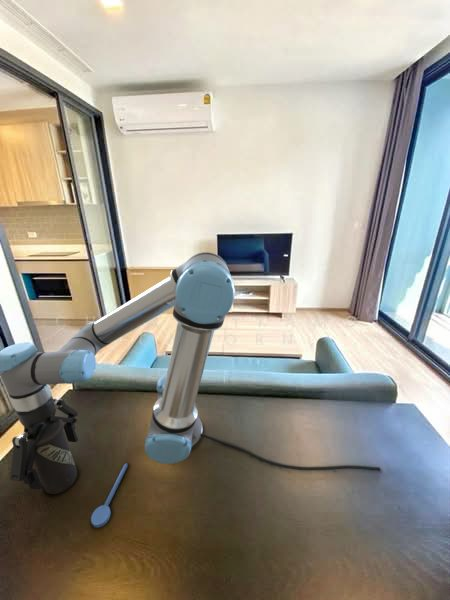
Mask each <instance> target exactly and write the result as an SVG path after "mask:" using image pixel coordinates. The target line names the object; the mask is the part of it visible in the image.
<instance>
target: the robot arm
mask: <svg viewBox="0 0 450 600" xmlns="http://www.w3.org/2000/svg"><path fill="white" fill-rule="evenodd" d="M231 274H232V273H230V268H229V266H228V264H227V262H226V261H225V260H224V259H223V258H222V257H221V256H220V255H218V254H216V253H213V252H210V251H202V252H198V253H195V254H193V255H192V256H191V257H189V258H188V259H187V260H185V262H183V263H181V264H180V265H178V266H177V267H176V268H174V269H172V270H171V271H170V274H169V276H168V277H167V278H165V279H163V280H162V281H160V282H158V283H156V284H155V285H153V286H152V287H150V288H148V289H147V290H144V291H143V292H142V293H139V294H138V295H137V296H135V297H133V298H131V299H130V300H128V301H126V302H125V303H123V304H121V305H120V306H118V307H116V308H115V309H113V310H112V311H110V312H108V313H106V314H105V315H103V316H102V317H100V318H98V319H97V320H95V321H90V322H88V323H87V324H85V325H83V326H82V327H81V328H80V329H79V330H78V332H77V333H76V334H74V336H73V337H71V338H70V340H68V341H67V342H66V343H65V344H64V345H63V346H62V347H61V348H60V349H59V350H57V351H39V350H38V348H37V347H36V345H35V344H34V343H32V342H27V341H26V342H19V343H14V344H12V345H9V346H7V347H4V348H3V349H1V350H0V377H1V380H2V382H3V384H4V387H5V389H6V390H7V393H8V396H9V398H10V402H11V404H12V406H13V408H14V410H15V413H16V416H17V419H18V421H19V423H20V425H22V426H23V432H22V433H21V434H20V435H18V436H14V437H12V439H11V444H12V446H13V447H12V448H13V449H12V451H13V452H12V460H11V467H10V468H11V469H10V478H9V480H10V481H14V482H15V481H17V482H22V481H23V484H25V485H28V486H29V488H30V490H37V491H41V490H42V488H44V487H43V484H42V481H41V478H40V476H39V474H38V471H37V469H36V468H34V464H35V462H34V460H35V456H36V452H37V449H38V447H36V443H38V442H39V441H40V439H41V438H42V437H43V433H44V431H45V430H46V429H47V428H48V427H49V426H50V425H51V424H52V423H53V422H54V421H58V420H60V419H61V420H62V421H63V422H64V428H63V431H64V434H65V437H66V440H67V442H68V443H77V442H78V441H79V439H78V438H79V437H78V436H77V431H76V428H77V427H76V423H77V421H78V419H77V418H76V417H78V416H79V412H78V411H77V410H75V409H74V408H72V407H71V406H70V405H68V404H67V403H66V402H65V400H64V399H63V398H54V397H53V395H52V391H51V388H50V385H63V384H65V385H66V384H67V385H72V384H76V383H85V382H87V381H89V380H91V379H92V378H93V376H94V373H95V370H96V366H97V362H96V355H97V354H98V352H100V350H102V349H103V348H106V347H107V346H109V345H111V344H112V343H113V342H116V341H117V340H119V339H120V338H122V337H124V336H125V335H127V334H129V333H131V332H133V331H135V330H137V328H140V327H141V326H143V325H145V324H146V323H148V322H150V321H152V320H153V319H155V318H157V317H158V316H160V315H162V314H164V313H165V312H168V311H169V310H171V309H172V308H173V309H172V310H173V311H172V316H173V318H174V319H175V321H176V322H177V323H176V329H175V332H174V333H175V334H174V337H173V343H172V348H171V352H170V357H169V361H168V366H167V371H166V374H164V375H162V376H161V377H159V379H158V380H157V382H156V391H157V398H156V401H155V403H154V405H153V408H152V413H151V418H150V423H149V428H148V431H147V436H146V437H145V440H144V442H145V444H144V451H145V455H147V457H148V458H149V459H151V460H152V461H154V462H156V463H158V464H164V465H174V464H177V463H181V462H183V461H184V460H186V459H187V458H188V457H189V456H190V454H191V451H192V449H194V448H195V447H196V446H197V445H198V444H199V442H200V441H201V439H202V438H206V439H207V440H210V441H213V442H216V443H219V444H223V445H224V446H228V447H231V448H233V449H236V450H239V451H241V452H244V453H246V454H247V455H250V456H252V457H254V459H256V460H257V459H258V460H260V461H261V462H264V463H267V464H269V465H270V464H271V465H273V466H276V467H280V468H283V469H284V468H285V469H292V470H300V471H330V470H342V469H343V470H344V469H346V470H347V469H355V470H370V471H381V468H380V467H379V466H369V465H368V466H367V465H356V464H355V465H351V464H347V465H345V464H344V465H343V464H342V465H330V466H300V465H299V466H298V465H292V464H291V465H289V464H285V463H281V462H277V461H273V460H270V459H267V458H265V457H262V456H260V455H257V454H256V453H254V452H252V451H250V450H248V449H246V448H243V447H241V446H239V445H236V444H233V443H230V442H227V441H224V440H221V439H218V438H215V437H213V436H211V435H207V434H204V433H203V423H202V420H201V419H200V417H199V415H198V414H199V413H198V412H199V411H198V406H197V403H196V400H197V396H198V393H199V390H200V387H201V386H200V385H201V381H202V378H203V375H204V371H205V366H206V363H207V360H208V356H209V355H208V354H209V353H210V347H211V345H212V341H213V337H214V333H215V331H217V330H219V329H221V328H222V327H223V325H224V322H225V319H226V316H227V315H228V313H230V310H231V309H232V307H233V304H234V300H235V295H236V288H235V287H236V286H235V281H234V278H233V277H232V275H231ZM57 410H58V411H60V412H61V413H63V414H65V415H66V416H67V417H64V416H56V412H57ZM31 436H37V439H30V438H31Z"/></svg>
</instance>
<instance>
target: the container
mask: <svg viewBox="0 0 450 600" xmlns="http://www.w3.org/2000/svg"><path fill="white" fill-rule="evenodd" d="M64 423H65V422H63V421H62V420H61V419H60V420H58V421H54V422H53V423H52V424H51V425H50V426H49V427H48V428H47V429H46V430H45V431H44V433H43V437H42V438H41V439H40V441H39V442H38V443H36V447H38V449H37V452H36V456H35V460H34V465H35V467H36V468H35V469H36V471H37V474H38V477H39V479H40V482H41V484H42V486H43V487H42V488H43V489H44V491H45V493H47V494H50V495H56V494H60V493H63V492H65V491H66V490H67V489H69V488H71V486H72V485H74V483H75V481H76V479H77V477H78V470H77V466H76V464H75V461H74V458H73V454H72V452H71V449H70V446H69V442H68V440H67V437H66V434H65V431H64ZM30 439H37V436H31V438H30Z"/></svg>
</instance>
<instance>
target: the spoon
mask: <svg viewBox="0 0 450 600" xmlns="http://www.w3.org/2000/svg"><path fill="white" fill-rule="evenodd" d="M128 467H129V464H128V463H124V464H123V466H122V468H121V470H120V472H119V474H118V475H117V478H116V481H115V482H114V484H113V486H112V488H111V490H110V491H109V493H108V496H107V497H106V499H105V501H104V504H102V505H100V506H98V507H97V508H95V509H94V511H93V512H92V513H91V516H90V522H91V525H92V526H93V527H94V528H101V527H103V526H105V525H106V524H107V523H108V521H109V520H110V518H111V514H112V512H111V508H110V504H111V502H112V499H113V498H114V496H115V493H116V491H117V489H118V487H119V485H120V484H121V482H122V480H123V477H124V475H125V473H126V472H127V470H128Z"/></svg>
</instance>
